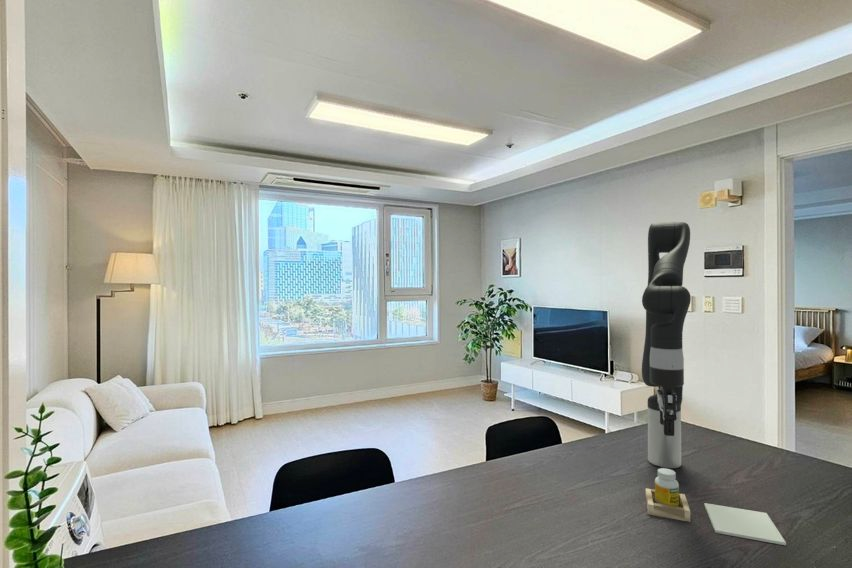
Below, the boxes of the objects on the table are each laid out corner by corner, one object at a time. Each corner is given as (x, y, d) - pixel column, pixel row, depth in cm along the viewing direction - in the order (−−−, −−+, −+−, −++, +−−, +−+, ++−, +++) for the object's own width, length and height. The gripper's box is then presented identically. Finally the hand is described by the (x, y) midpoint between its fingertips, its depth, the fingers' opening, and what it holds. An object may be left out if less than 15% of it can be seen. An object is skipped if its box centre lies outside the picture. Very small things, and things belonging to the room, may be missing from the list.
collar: (645, 497, 116) (645, 488, 116) (684, 503, 113) (684, 494, 113) (648, 514, 108) (648, 504, 108) (690, 521, 104) (690, 511, 104)
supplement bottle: (662, 501, 114) (661, 465, 114) (683, 510, 110) (683, 472, 110) (650, 507, 111) (650, 470, 111) (672, 517, 107) (671, 478, 107)
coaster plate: (704, 505, 112) (704, 503, 112) (766, 515, 107) (766, 513, 107) (715, 532, 100) (715, 530, 100) (786, 545, 95) (786, 542, 95)
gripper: (688, 372, 102) (688, 441, 102) (679, 361, 115) (679, 422, 115) (652, 369, 105) (652, 437, 105) (647, 359, 118) (647, 419, 118)
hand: (666, 429), depth 110 cm, fingers open, 8 cm apart
